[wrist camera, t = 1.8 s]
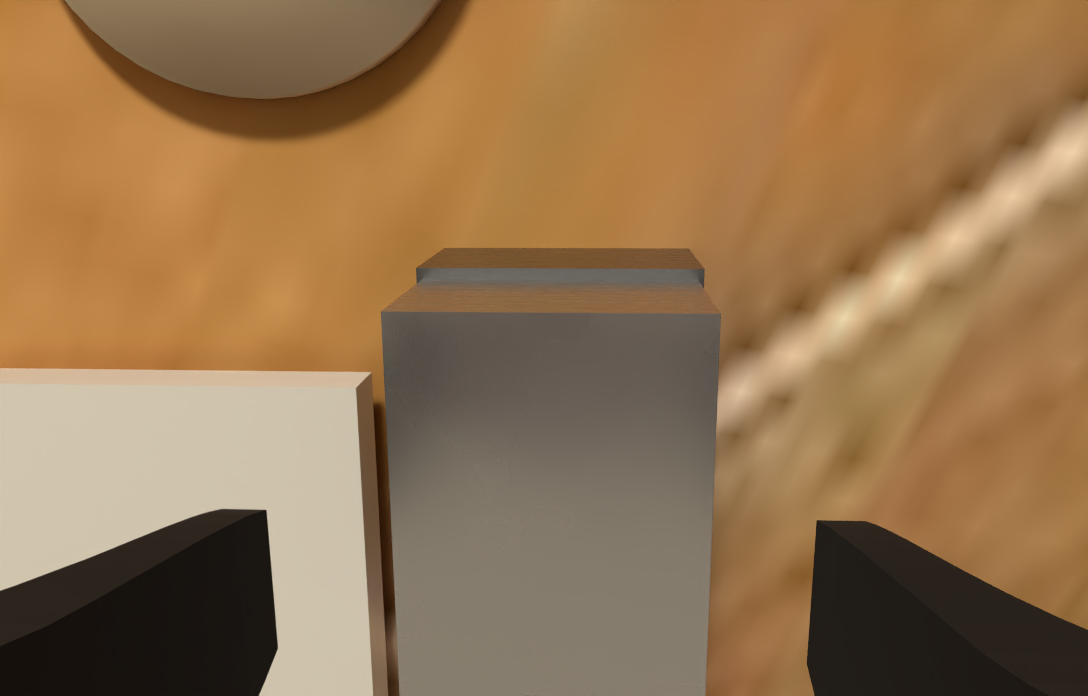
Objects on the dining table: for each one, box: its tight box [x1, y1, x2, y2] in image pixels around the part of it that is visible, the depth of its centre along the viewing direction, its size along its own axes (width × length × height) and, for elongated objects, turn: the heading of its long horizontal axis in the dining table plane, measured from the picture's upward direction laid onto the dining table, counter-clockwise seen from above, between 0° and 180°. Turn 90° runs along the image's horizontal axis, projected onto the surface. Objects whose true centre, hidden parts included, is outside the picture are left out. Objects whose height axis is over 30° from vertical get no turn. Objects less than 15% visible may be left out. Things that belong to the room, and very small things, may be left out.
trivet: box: [0, 368, 388, 696], centre depth 20 cm, size 12×12×2 cm
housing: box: [381, 248, 721, 696], centre depth 16 cm, size 7×5×6 cm
